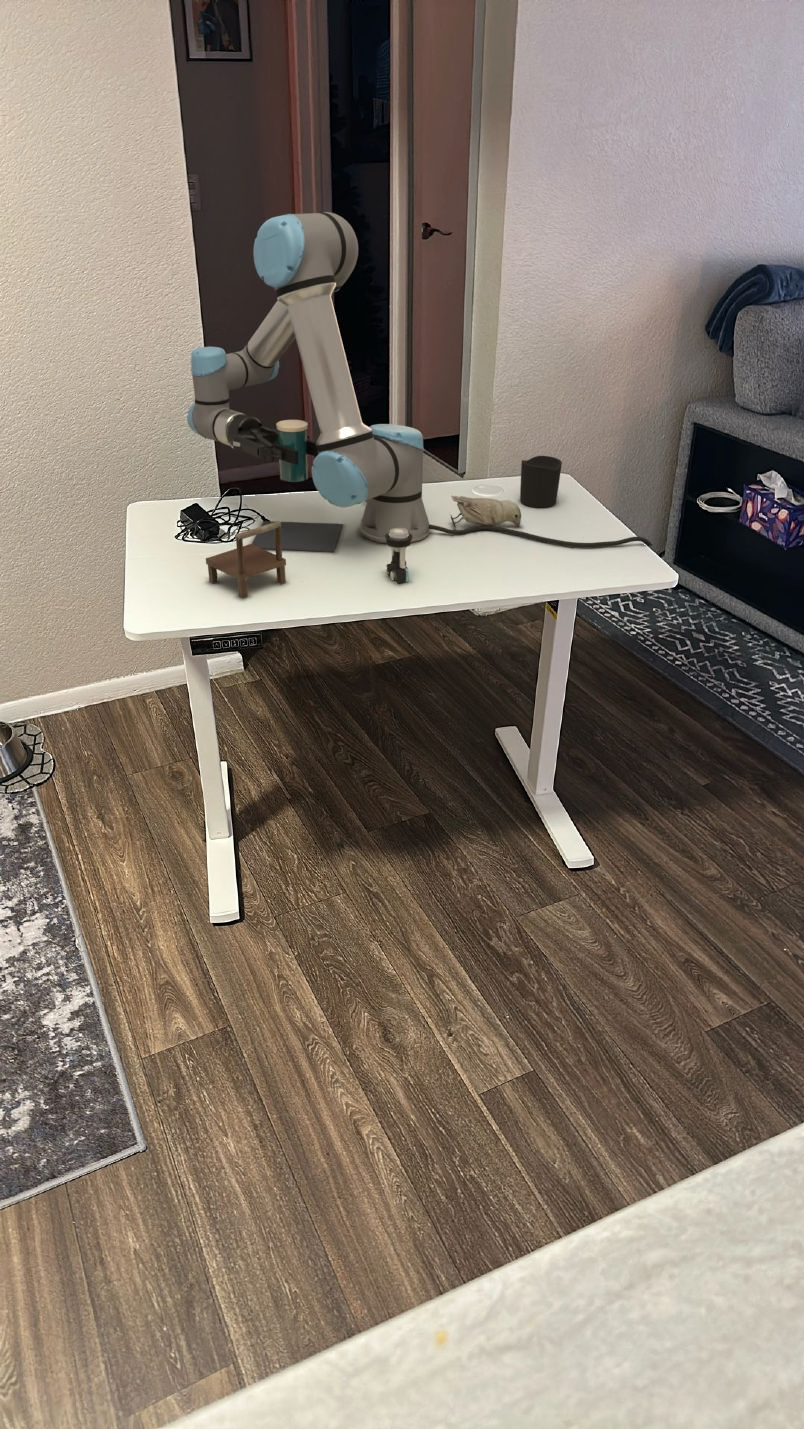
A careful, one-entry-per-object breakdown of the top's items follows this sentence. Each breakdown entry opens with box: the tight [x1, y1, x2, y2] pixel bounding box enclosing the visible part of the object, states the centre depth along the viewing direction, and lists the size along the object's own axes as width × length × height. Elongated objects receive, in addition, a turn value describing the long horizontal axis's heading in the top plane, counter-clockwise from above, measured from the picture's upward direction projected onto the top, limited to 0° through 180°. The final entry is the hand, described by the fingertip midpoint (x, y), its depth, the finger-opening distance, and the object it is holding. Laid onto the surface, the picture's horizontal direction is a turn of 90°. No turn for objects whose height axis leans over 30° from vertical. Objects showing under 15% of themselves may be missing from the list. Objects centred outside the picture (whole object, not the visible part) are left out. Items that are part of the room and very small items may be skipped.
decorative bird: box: [449, 495, 522, 530], centre depth 212 cm, size 5×16×8 cm, turn 94°
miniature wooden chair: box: [205, 520, 287, 599], centre depth 184 cm, size 11×11×13 cm
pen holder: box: [519, 455, 563, 509], centre depth 227 cm, size 9×9×10 cm
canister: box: [275, 419, 309, 483], centre depth 198 cm, size 6×6×11 cm
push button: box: [385, 528, 413, 585], centre depth 187 cm, size 7×5×10 cm
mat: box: [251, 520, 344, 553], centre depth 208 cm, size 18×16×1 cm
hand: (309, 454), depth 195 cm, fingers closed on canister, 6 cm apart
